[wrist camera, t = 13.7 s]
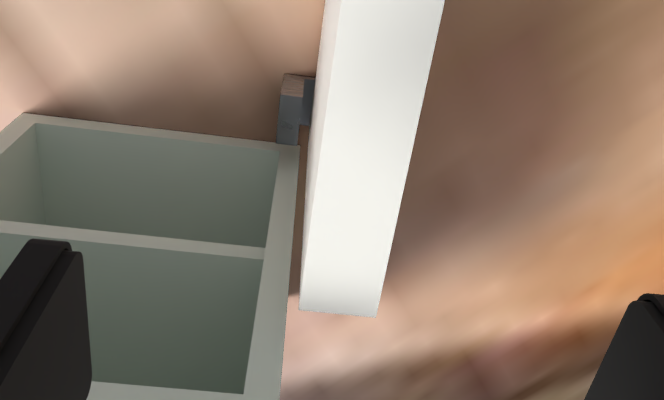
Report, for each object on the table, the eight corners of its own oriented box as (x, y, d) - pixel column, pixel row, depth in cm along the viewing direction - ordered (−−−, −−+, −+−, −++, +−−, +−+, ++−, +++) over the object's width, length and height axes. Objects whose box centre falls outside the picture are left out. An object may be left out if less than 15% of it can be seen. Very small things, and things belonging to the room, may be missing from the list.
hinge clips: (299, -83, 27) (295, -74, 23) (421, -65, 27) (436, -53, 24) (279, 119, 31) (274, 152, 28) (384, 131, 32) (392, 166, 28)
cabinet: (22, 112, 31) (-292, 379, 15) (300, 145, 32) (276, 426, 16) (41, 274, 36) (-181, 603, 20) (282, 297, 37) (251, 628, 21)
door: (335, -85, 26) (346, -32, 14) (414, -73, 26) (490, -12, 14) (309, 131, 31) (298, 310, 19) (375, 139, 31) (407, 320, 19)
